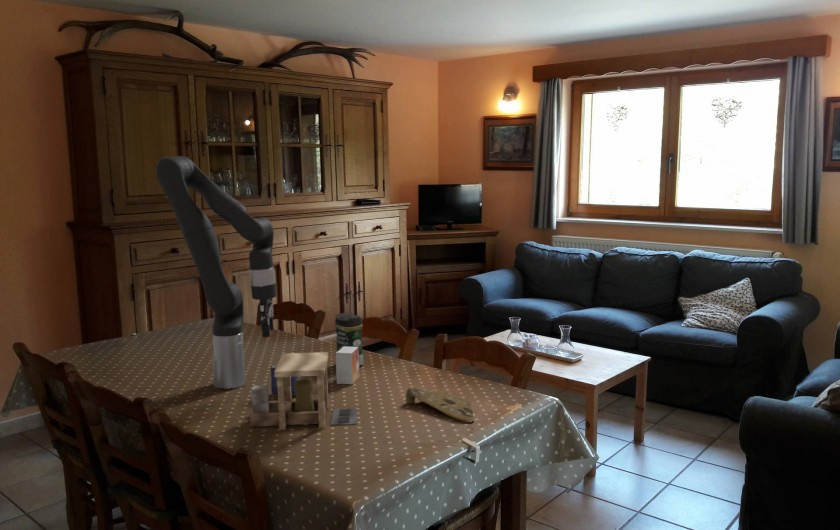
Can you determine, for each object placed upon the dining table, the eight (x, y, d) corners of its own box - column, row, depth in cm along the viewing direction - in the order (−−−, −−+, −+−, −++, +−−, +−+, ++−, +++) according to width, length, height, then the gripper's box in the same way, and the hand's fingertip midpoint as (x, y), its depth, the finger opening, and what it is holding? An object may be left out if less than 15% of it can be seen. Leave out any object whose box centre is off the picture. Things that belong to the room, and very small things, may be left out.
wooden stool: (277, 431, 178) (274, 371, 176) (285, 408, 195) (282, 353, 193) (356, 427, 180) (354, 368, 177) (357, 405, 196) (355, 351, 194)
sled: (250, 426, 181) (248, 394, 179) (257, 411, 191) (255, 381, 190) (323, 423, 182) (322, 391, 181) (326, 408, 193) (324, 378, 191)
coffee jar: (332, 364, 237) (330, 313, 234) (350, 360, 242) (348, 310, 240) (349, 370, 230) (348, 317, 227) (367, 365, 236) (365, 314, 233)
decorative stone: (402, 403, 198) (405, 387, 197) (439, 398, 208) (442, 383, 208) (461, 436, 180) (464, 419, 179) (498, 429, 190) (501, 413, 190)
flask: (300, 394, 206) (299, 361, 205) (296, 398, 204) (295, 364, 202) (273, 392, 209) (272, 359, 207) (269, 395, 206) (267, 362, 204)
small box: (352, 385, 215) (351, 353, 213) (336, 384, 216) (335, 352, 214) (360, 377, 223) (359, 346, 221) (343, 376, 224) (343, 345, 222)
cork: (295, 414, 190) (293, 377, 188) (316, 413, 190) (315, 376, 189) (293, 423, 184) (291, 384, 182) (315, 422, 184) (313, 383, 183)
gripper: (254, 279, 213) (259, 328, 216) (247, 287, 199) (252, 340, 202) (278, 277, 214) (283, 327, 217) (272, 285, 200) (277, 338, 203)
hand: (268, 333), depth 209 cm, fingers open, 8 cm apart
